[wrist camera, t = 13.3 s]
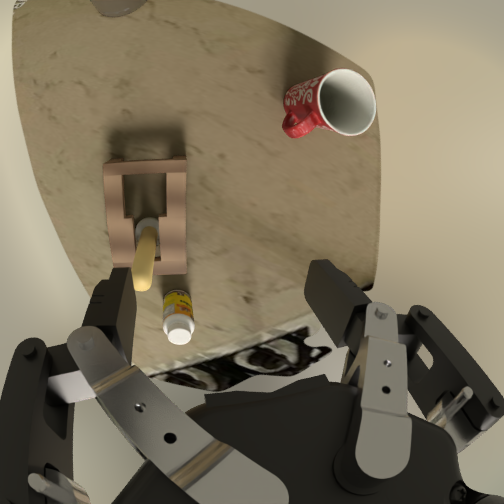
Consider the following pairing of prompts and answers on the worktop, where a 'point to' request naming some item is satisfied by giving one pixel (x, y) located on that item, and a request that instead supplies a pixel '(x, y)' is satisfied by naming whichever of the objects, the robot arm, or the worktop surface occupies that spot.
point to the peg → (145, 252)
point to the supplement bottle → (178, 317)
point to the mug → (330, 104)
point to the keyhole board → (169, 224)
